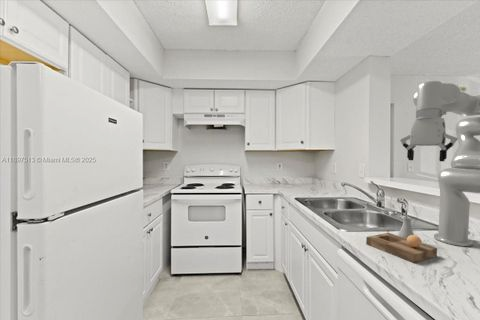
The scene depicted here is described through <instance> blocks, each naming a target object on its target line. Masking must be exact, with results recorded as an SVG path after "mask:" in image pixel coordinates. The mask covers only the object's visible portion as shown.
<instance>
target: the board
mask: <svg viewBox="0 0 480 320" xmlns="http://www.w3.org/2000/svg"><path fill="white" fill-rule="evenodd" d="M365 241H366V242H365V244H366V245H367V246H369V247H372V248H375V249H377V250H380V251H382V252H385V253H387V254H390V255H392V256H395V257H398V258H399V259H403V260H405V261H407V262H410V263H412V264H415V263H419V262H420V263H421V262H424V261H426V260H428V259H429V260H431V259H433V258H437V256H438V248H437V247H434V246H431V245H429V244H428V245H427V244H424V243H423V242H422V243H421V246H419V247H417V248H414V247H411V246H410V245H409V244H408V243H407V238H403V237H400V236H398V234H394V233H391V232H385V233H380V234H375V235H369V236H366V239H365Z"/></svg>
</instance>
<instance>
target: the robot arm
mask: <svg viewBox="0 0 480 320" xmlns="http://www.w3.org/2000/svg"><path fill="white" fill-rule="evenodd" d="M416 89H417V90H416V91H415V93H414V94H413V96H412V102H413V104H414V105H415V107H416V110H415V119H413V121H412V124H411V129H410V134H409V135H407V136H405V137H403V138H401V139H400V143H401V144H402V146H403V147H404V148H405V150H407V151H406V152H407V154H406V155H407V156H406V157H407V159H408V161H414V156H415V150H414V149H415V147H417V146H418V147H419V146H421V147H423V146H426V147H427V146H430V147H431V146H434V147H436V146H437V147H439V148H440V150H439V159H438V160H439V162H445V160H447V159H448V158H447V154H448V152H447V151H449V150H450V149H451V148H453V146H454V145H455V144H456V142H458V143H457V144H458V147H457V149H456V150H455V152H454V153H453V156H452V158H451V160H450V167H451V168H444V169H442V170H440V172H439V173H438V176H437V179H438V180H437V181H438V187H439V212H438V213H439V214H438V232H437V233H434V234H433V238H434V239H435V240H437V241H439V242H441V243H445V244H449V245H453V246H460V247H472V246H473V245H474V242H473V241H472V240H471V239H469V235H471V232H470V231H469V223H470V206H471V205H470V204H471V203H470V200H469V198H468V197H467V195H466V194H465V193H464V192H466V193H472V194H473V193H474V194H480V140H479V139H478V138H477V136H480V95H470V94H469V93H467V92H464V91H461V90H460V87H459V86H458V85H457V84H455V83H448V82H446V83H444V82H441V81H439V80H431V81H425V82H422V83H420V84H419V85H418V86H417V88H416ZM448 113H453V114H456V115H459V116H461V117H467V118H463V119H460V120H459V121H458V122H456V124H455V135H456V137H455V136H453V135H451V134H447V133H446V132H447V131H446V122H445V118H444V117H443V116H444V115H447V114H448ZM472 116H473V117H472ZM447 139H448V140H450V141H449V142H447ZM407 141H409V144H408V143H407ZM446 142H447V144H446Z"/></svg>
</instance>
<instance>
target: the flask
mask: <svg viewBox="0 0 480 320" xmlns="http://www.w3.org/2000/svg"><path fill="white" fill-rule="evenodd" d="M402 219H403V220H402V226H401V228H400V229H399V232H398V234H397V236H400V237H403V238H407V237H408V236H410V235H415V233H414V231H413V228H412V217H407V216H404V217H403V216H402Z"/></svg>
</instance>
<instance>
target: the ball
mask: <svg viewBox="0 0 480 320" xmlns="http://www.w3.org/2000/svg"><path fill="white" fill-rule="evenodd" d="M407 243H408V244H409V245H410V246H411V247H414V248H417V247H419V246H421V243H422V244H423V242H422V239H421V238H420V237H419V236H418V235H415V234H414V235H410V236H408V237H407Z"/></svg>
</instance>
